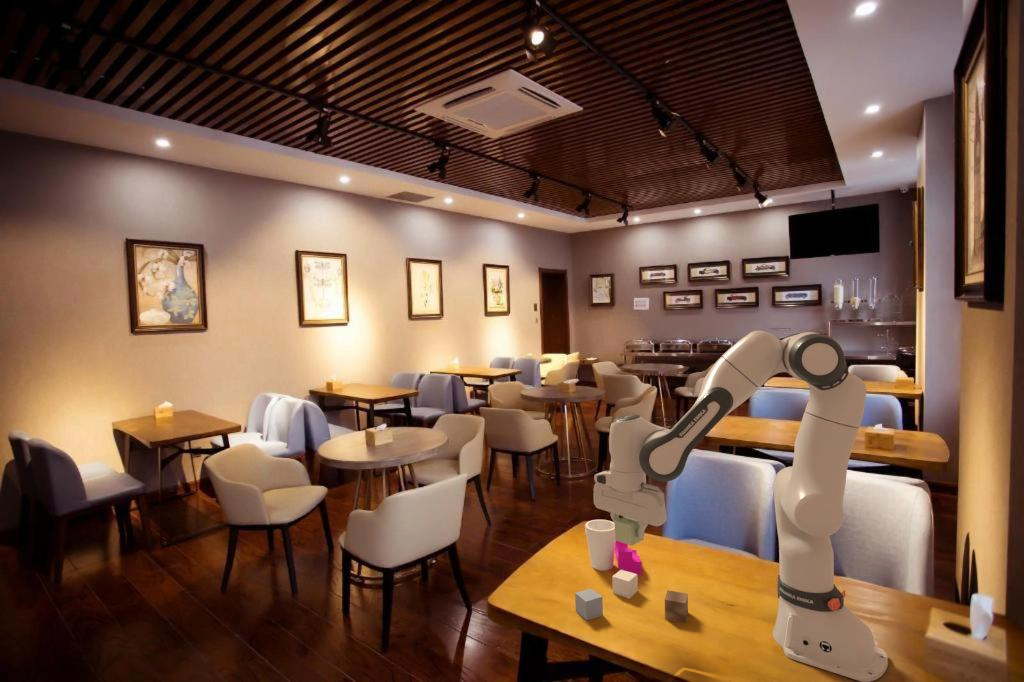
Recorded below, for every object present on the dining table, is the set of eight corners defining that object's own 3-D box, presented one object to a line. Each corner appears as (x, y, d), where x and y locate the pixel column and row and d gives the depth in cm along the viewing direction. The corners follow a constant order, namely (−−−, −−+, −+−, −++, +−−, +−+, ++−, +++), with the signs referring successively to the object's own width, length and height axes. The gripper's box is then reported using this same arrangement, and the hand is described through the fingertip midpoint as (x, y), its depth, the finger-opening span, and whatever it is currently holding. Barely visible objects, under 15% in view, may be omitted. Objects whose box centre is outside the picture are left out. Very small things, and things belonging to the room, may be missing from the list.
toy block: (641, 577, 158) (640, 551, 158) (619, 576, 159) (619, 551, 158) (634, 554, 173) (634, 531, 173) (614, 554, 174) (614, 531, 173)
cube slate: (602, 615, 138) (602, 596, 138) (586, 621, 136) (585, 601, 136) (591, 606, 142) (591, 588, 142) (575, 611, 140) (575, 592, 140)
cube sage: (643, 539, 137) (643, 520, 136) (631, 545, 133) (631, 525, 133) (627, 534, 140) (626, 515, 140) (615, 540, 137) (614, 520, 137)
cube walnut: (688, 612, 138) (687, 593, 138) (686, 623, 133) (685, 603, 133) (667, 609, 140) (667, 590, 140) (665, 619, 135) (664, 599, 135)
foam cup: (594, 576, 159) (592, 533, 158) (581, 563, 168) (580, 522, 167) (623, 571, 161) (622, 528, 161) (609, 558, 170) (608, 518, 170)
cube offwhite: (637, 592, 149) (637, 574, 149) (629, 599, 145) (628, 581, 145) (621, 586, 152) (620, 569, 152) (612, 594, 149) (612, 576, 148)
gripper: (671, 485, 130) (672, 541, 131) (604, 469, 146) (606, 520, 146) (655, 491, 126) (657, 549, 127) (589, 474, 142) (590, 526, 142)
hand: (629, 533), depth 137 cm, fingers closed on cube sage, 5 cm apart
